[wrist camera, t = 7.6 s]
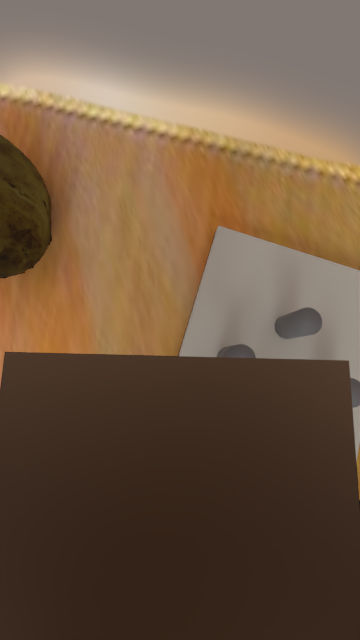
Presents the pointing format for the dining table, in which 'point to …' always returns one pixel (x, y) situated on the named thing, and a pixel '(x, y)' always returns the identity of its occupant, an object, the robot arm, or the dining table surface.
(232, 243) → the peg plate
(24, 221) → the potato
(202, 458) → the walnut block
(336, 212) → the dining table surface
